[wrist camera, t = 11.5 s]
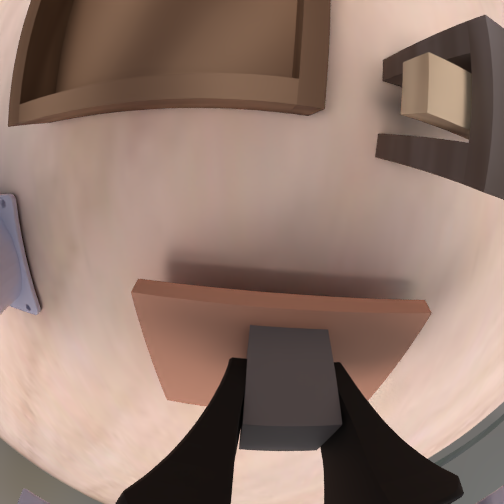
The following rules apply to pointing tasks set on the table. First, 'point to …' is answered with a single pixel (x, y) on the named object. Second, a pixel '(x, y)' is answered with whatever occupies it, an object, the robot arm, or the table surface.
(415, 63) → the tan rectangular bar
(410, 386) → the table surface
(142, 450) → the table surface
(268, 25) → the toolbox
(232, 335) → the lid
